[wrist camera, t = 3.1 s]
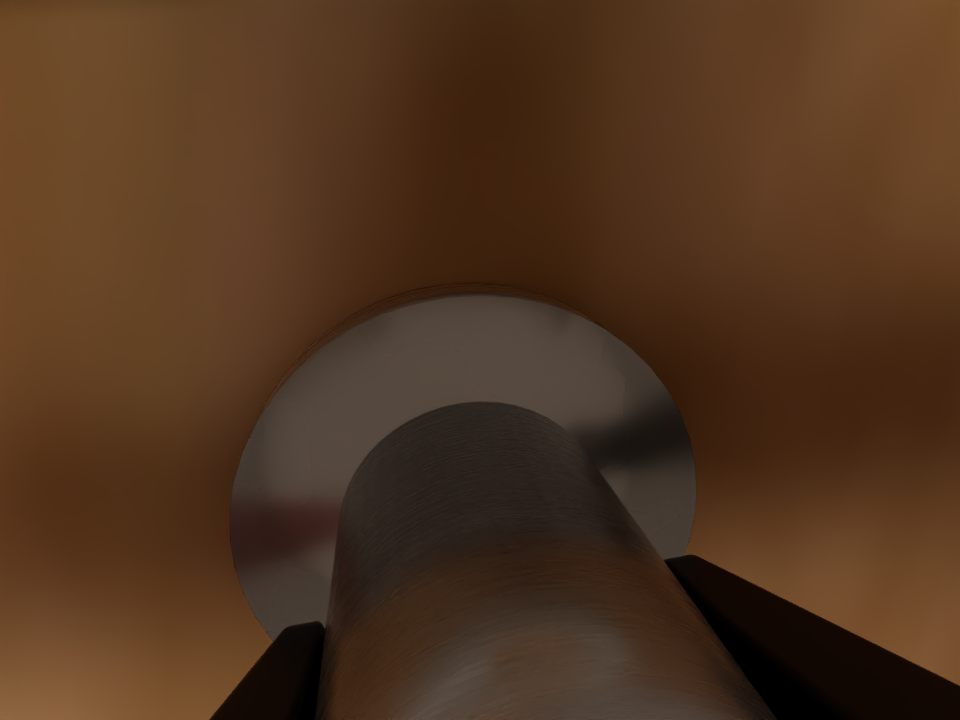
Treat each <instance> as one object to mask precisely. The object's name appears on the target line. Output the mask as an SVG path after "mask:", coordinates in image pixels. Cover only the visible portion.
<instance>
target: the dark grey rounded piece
mask: <svg viewBox="0 0 960 720" xmlns="http://www.w3.org/2000/svg"><path fill="white" fill-rule="evenodd" d="M696 491H697V489H696V473H695V462H694V457H693V452H692V448H691V443H690V438H689V435H688V433H687V430H686V427H685V425H684V422H683V419H682V416H681V414H680V412H679V410H678V408H677V406H676V404H675V403H674V401H673V399H672V397H671V395H670V393H669V392H668V390H667V388H666V387H665V386H664V385H663V383H662V382H661V381H660V379H659V378H658V377H657V375H656V374H655V373H654V371H653V370H652V369H651V367H650V366H649V365H648V364H646V363H645V362H644V361H643V360H642V359H641V358H640V357H639V356H638V355H637V354H636V353H635V352H634V351H633V350H632V349H631V348H630V347H629V346H627V345H626V344H625V343H623V342H622V341H620V340H619V339H618V338H616V337H615V336H614V335H612V334H611V333H609V332H608V331H607V330H605V329H604V328H603V327H601V326H600V325H598V324H597V323H596V322H594V321H593V320H591V319H590V318H589V317H587V316H586V315H584V314H583V313H581V312H579V311H577V310H575V309H573V308H571V307H569V306H567V305H565V304H564V303H562V302H560V301H557V300H554V299H552V298H549V297H546V296H543V295H540V294H538V293H535V292H532V291H527V290H522V289H518V288H513V287H508V286H503V285H490V284H477V283H469V284H451V285H440V286H435V287H429V288H424V289H419V290H413V291H410V292H407V293H404V294H401V295H398V296H394V297H391V298H388V299H385V300H382V301H380V302H378V303H376V304H374V305H372V306H370V307H368V308H366V309H363V310H361V311H359V312H357V313H355V314H353V315H352V316H350V317H349V318H347V319H346V320H344V321H343V322H341V323H339V324H338V325H336V326H335V327H333V328H332V329H330V330H329V331H327V332H326V333H325V334H324V335H323V336H322V337H320V338H319V339H318V340H317V341H316V342H315V343H313V344H312V345H311V346H310V347H309V348H308V349H306V350H305V351H304V352H303V354H302V355H301V356H300V357H299V358H298V359H297V360H296V361H295V363H294V364H293V365H292V366H291V367H290V368H289V369H288V371H287V372H286V373H285V374H284V376H283V377H282V379H281V380H280V382H279V383H278V385H277V386H276V388H275V389H274V391H273V392H272V394H271V395H270V397H269V398H268V400H267V403H266V405H265V407H264V409H263V411H262V413H261V415H260V417H259V419H258V421H257V423H256V425H255V427H254V429H253V431H252V433H251V435H250V437H249V439H248V442H247V444H246V446H245V448H244V450H243V452H242V456H241V459H240V462H239V466H238V469H237V472H236V475H235V479H234V484H233V490H232V497H231V504H230V542H231V548H232V554H233V560H234V566H235V569H236V572H237V575H238V578H239V581H240V584H241V587H242V590H243V593H244V595H245V597H246V599H247V601H248V603H249V605H250V607H251V609H252V611H253V613H254V615H255V616H256V618H257V619H258V621H259V622H260V624H261V625H262V626H263V628H264V629H265V631H266V632H267V633H268V635H269V636H270V638H271V639H272V640H273V641H274V640H275V639H276V638H277V636H278V635H279V634H280V633H281V632H282V631H283V630H284V629H285V628H286V627H288V626H292V625H297V624H303V623H309V622H314V621H319V622H321V623H322V624H323V626H324V628H325V635H324V643H323V651H322V659H321V667H320V675H319V683H318V691H317V699H316V707H315V715H314V720H777V718H776V717H775V715H774V714H773V713H772V711H771V710H770V708H769V707H768V706H767V704H766V703H765V701H764V700H763V699H762V697H761V696H760V694H759V693H758V692H757V690H756V689H755V687H754V686H753V685H752V683H751V682H750V680H749V679H748V678H747V676H746V675H745V673H744V672H743V671H742V669H741V668H740V666H739V665H738V664H737V662H736V661H735V659H734V658H733V657H732V655H731V654H730V652H729V651H728V650H727V648H726V647H725V645H724V644H723V643H722V641H721V640H720V638H719V637H718V636H717V634H716V633H715V631H714V630H713V629H712V627H711V626H710V625H709V623H708V622H707V620H706V619H705V618H704V616H703V615H702V613H701V612H700V611H699V609H698V608H697V606H696V605H695V604H694V602H693V601H692V599H691V598H690V597H689V595H688V594H687V592H686V591H685V590H684V588H683V587H682V585H681V584H680V583H679V581H678V580H677V578H676V577H675V576H674V574H673V573H672V571H671V570H670V569H669V567H668V566H667V564H666V563H665V562H664V560H665V559H668V558H674V557H679V556H684V554H685V551H686V549H687V546H688V543H689V539H690V535H691V530H692V525H693V521H694V516H695V504H696Z"/></svg>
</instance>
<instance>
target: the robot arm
mask: <svg viewBox="0 0 960 720" xmlns="http://www.w3.org/2000/svg"><path fill="white" fill-rule="evenodd" d="M664 562H665V563H666V564H667V566H668V567H669V569H670V570H671V571H672V573H673V574H674V576H675V577H676V578H677V580H678V581H679V583H680V584H681V585H682V587H683V588H684V590H685V591H686V592H687V594H688V595H689V597H690V598H691V599H692V601H693V602H694V604H695V605H696V606H697V608H698V609H699V611H700V612H701V613H702V615H703V616H704V618H705V619H706V620H707V622H708V623H709V625H710V626H711V627H712V629H713V630H714V631H715V633H716V634H717V636H718V637H719V638H720V640H721V641H722V643H723V644H724V645H725V647H726V648H727V650H728V651H729V652H730V654H731V655H732V657H733V658H734V659H735V661H736V662H737V664H738V665H739V666H740V668H741V669H742V671H743V672H744V673H745V675H746V676H747V678H748V679H749V680H750V682H751V683H752V685H753V686H754V687H755V689H756V690H757V692H758V693H759V694H760V696H761V697H762V699H763V700H764V701H765V703H766V704H767V706H768V707H769V708H770V710H771V711H772V713H773V714H774V715H775V717H776V718H777V720H960V686H959V685H957V684H955V683H953V682H951V681H949V680H947V679H945V678H943V677H941V676H939V675H937V674H935V673H933V672H931V671H929V670H927V669H925V668H923V667H921V666H919V665H917V664H914V663H912V662H910V661H908V660H906V659H904V658H902V657H900V656H898V655H896V654H894V653H892V652H890V651H888V650H886V649H884V648H882V647H880V646H878V645H876V644H874V643H872V642H870V641H868V640H866V639H864V638H862V637H860V636H858V635H856V634H854V633H852V632H850V631H848V630H846V629H844V628H842V627H840V626H838V625H836V624H834V623H832V622H830V621H828V620H826V619H823V618H821V617H819V616H817V615H815V614H813V613H811V612H809V611H807V610H805V609H803V608H801V607H799V606H797V605H795V604H793V603H791V602H789V601H787V600H785V599H783V598H781V597H779V596H777V595H775V594H773V593H771V592H769V591H767V590H765V589H763V588H761V587H759V586H757V585H755V584H753V583H751V582H749V581H747V580H745V579H743V578H741V577H739V576H737V575H735V574H733V573H730V572H728V571H726V570H724V569H722V568H720V567H718V566H716V565H714V564H712V563H710V562H708V561H706V560H704V559H702V558H700V557H698V556H695V555H685V556H679V557H674V558H668V559H665V560H664ZM324 635H325V628H324V626H323V624H322V623H321V622H319V621H314V622H309V623H303V624H297V625H292V626H288V627H286V628H285V629H284V630H283V631H282V632H281V633H280V634H279V635H278V636H277V638H276V639H275V640H274V641H273V643H272V644H271V645H270V646H269V647H268V649H267V650H266V651H265V652H264V654H263V655H262V656H261V657H260V658H259V660H258V661H257V662H256V663H255V665H254V666H253V667H252V668H251V669H250V671H249V672H248V673H247V674H246V676H245V677H244V678H243V679H242V680H241V682H240V683H239V684H238V685H237V686H236V688H235V689H234V690H233V691H232V693H231V694H230V695H229V696H228V697H227V699H226V700H225V701H224V702H223V704H222V705H221V706H220V707H219V708H218V710H217V711H216V712H215V713H214V715H213V716H212V717H211V718H210V719H209V720H314V715H315V707H316V699H317V691H318V683H319V675H320V667H321V659H322V651H323V643H324Z"/></svg>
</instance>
